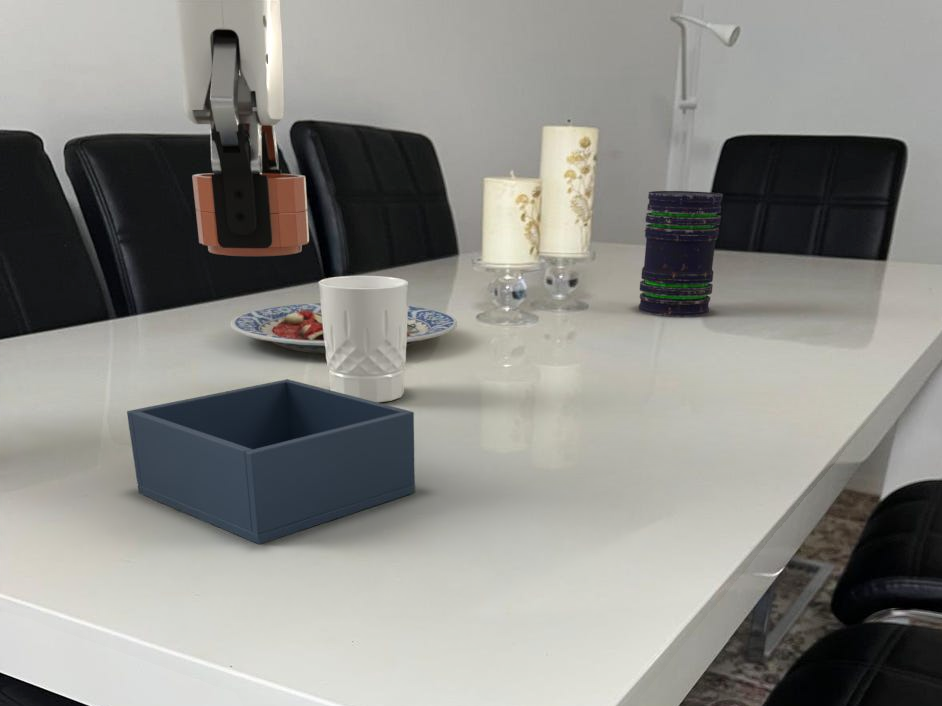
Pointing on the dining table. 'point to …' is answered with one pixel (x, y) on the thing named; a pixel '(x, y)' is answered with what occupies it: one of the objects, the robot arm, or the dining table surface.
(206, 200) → the bowl
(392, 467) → the bin
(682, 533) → the dining table surface
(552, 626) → the dining table surface
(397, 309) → the white cup
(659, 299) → the storage jar
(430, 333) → the ceramic plate
